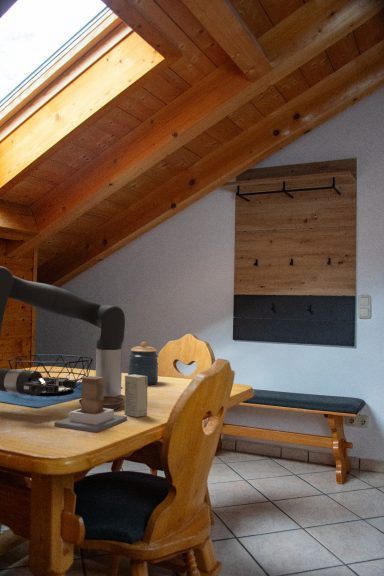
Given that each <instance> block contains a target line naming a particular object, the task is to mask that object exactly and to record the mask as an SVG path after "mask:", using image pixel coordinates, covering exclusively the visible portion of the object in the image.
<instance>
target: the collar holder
mask: <svg viewBox="0 0 384 576" xmlns="http://www.w3.org/2000/svg"><path fill="white" fill-rule="evenodd" d="M114 413H115V410H114V409H106V408H103V412H101V413H99V414H88V413H81V408H78V409H75V410H72V411H70V412H69V417H67V418H66V417H65V418H64V419H60V420H58V421H54V424H53V425H54V427H57V428H58V427H59V428H65V429H71V430H77V431H79V430H80V431H85V432H91V433H92V432H93V433H99V432H101V430H102V431H104V430H106V429H108V428H111V427H113V426H117V425H118V424H121V423H124V422H126V421H128V416H127V415H126V416H125V415H119V414H117V415H116V414H114Z"/></svg>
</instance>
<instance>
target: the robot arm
mask: <svg viewBox="0 0 384 576" xmlns="http://www.w3.org/2000/svg"><path fill="white" fill-rule="evenodd" d="M9 299H13V300H16V301H20V302H22V303H25V304H27V305H29V306H31V307H34V308H36V309H39V310H42V311H45V312H48V313H51V314H54V315H57V316H62V317H65V318H71V319H75V320H76V319H77V320H80V321H83V322H86V323H88V324H91V325H92V326H95V327H97V328H99V329H100V336H99V338H98V340H97V341H96V348H95V350H96V353H95V376H96V377H104V396H109V397H120V396H121V394H122V372H123V371H122V346H123V343H124V339H125V328H126V327H125V326H126V317H125V313H124V311H123V308H121V307H119V306H117V305H113V304H111V305H110V304H101V303H96V302H93V301H88V300H86V299H83V298H82V297H80V296H79V295H77V294H75V293H74V292H71V291H69V290H68V289H64V288H61V287H60V286H55V285H51V284H49V283H43V282H37V281H30V280H27V279H23V278H20V277H18V276H15V275H13V273H12V271H11V270H10V269H8V268H7V267H5V266H1V265H0V337H1V335H2V329H3V321H4V316H5V313H6V308H7V304H8V300H9ZM59 388H60V389H61V388H64V389H65V388H66V389H67V388H68V389H76V388H77V381H76V380H69V378H68V377H57V376H52V377H49V376H44V377H43V375H42V373H41V372H40V371H38V370H32V369H30V370H29V369H20V368H18V369H16V368H15V369H12V368H0V392H6V393H11V394H14V395H22V396H31V397H35V396H37V395H38V394H45V393H50V394H51V393H52V394H53V393H54V394H58V393H59V391H60V389H59Z"/></svg>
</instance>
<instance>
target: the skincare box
mask: <svg viewBox="0 0 384 576" xmlns="http://www.w3.org/2000/svg"><path fill="white" fill-rule="evenodd" d="M124 415H126V416H131V417H135V418H140V417H145V416H148V385H147V376H142V375H135V374H134V375H128V374H127V375H124Z"/></svg>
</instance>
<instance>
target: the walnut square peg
mask: <svg viewBox="0 0 384 576" xmlns="http://www.w3.org/2000/svg"><path fill="white" fill-rule="evenodd" d="M103 397H104V377H96V375H90V376H85V377H82V378H81V404H80V405H81V406H80V409H81V413H88V414H99V413H101V412H103Z"/></svg>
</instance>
